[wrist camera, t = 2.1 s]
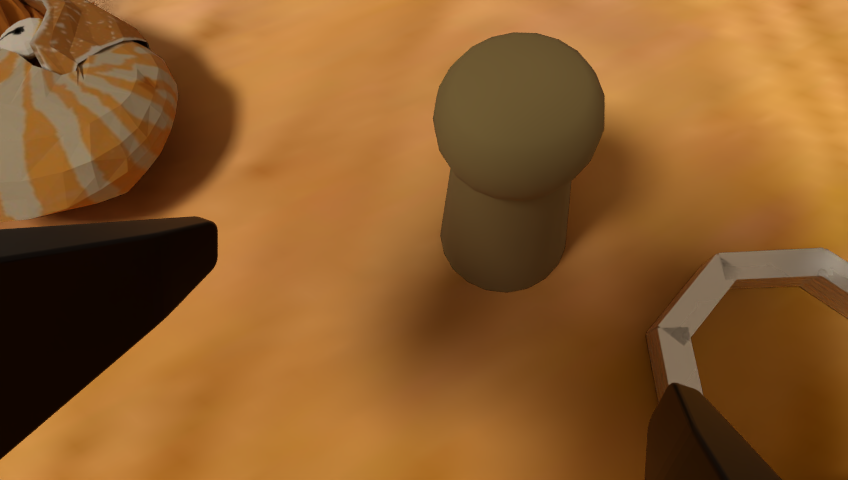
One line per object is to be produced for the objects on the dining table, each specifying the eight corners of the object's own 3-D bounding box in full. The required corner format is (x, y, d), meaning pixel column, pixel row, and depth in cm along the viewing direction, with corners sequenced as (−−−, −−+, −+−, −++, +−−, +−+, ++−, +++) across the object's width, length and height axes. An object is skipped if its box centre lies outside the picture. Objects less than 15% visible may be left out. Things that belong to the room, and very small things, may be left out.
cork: (416, 224, 24) (372, 72, 14) (509, 156, 25) (531, -32, 15) (494, 318, 22) (509, 219, 12) (593, 240, 23) (683, 87, 13)
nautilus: (-8, 12, 34) (204, -30, 35) (-82, 293, 25) (211, 229, 26) (-129, -110, 27) (140, -160, 28) (-297, 218, 18) (116, 132, 18)
